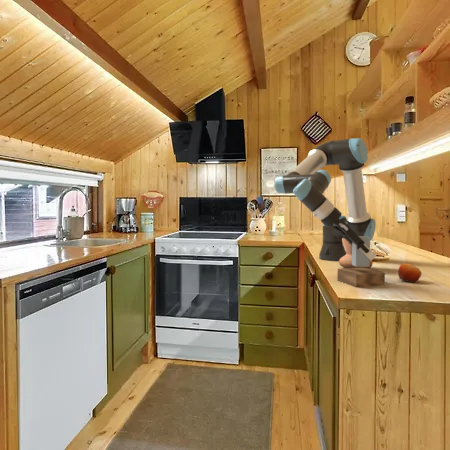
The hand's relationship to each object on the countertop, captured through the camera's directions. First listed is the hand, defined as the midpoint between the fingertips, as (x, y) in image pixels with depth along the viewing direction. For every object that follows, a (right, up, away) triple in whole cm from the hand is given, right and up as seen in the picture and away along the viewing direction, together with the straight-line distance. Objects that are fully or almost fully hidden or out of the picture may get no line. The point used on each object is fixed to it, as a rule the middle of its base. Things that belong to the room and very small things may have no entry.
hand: (370, 256), depth 136 cm
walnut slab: (-4, -10, +1) cm, 11 cm away
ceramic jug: (+5, -8, +29) cm, 31 cm away
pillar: (-4, -3, 0) cm, 5 cm away
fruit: (+16, -10, +3) cm, 19 cm away
